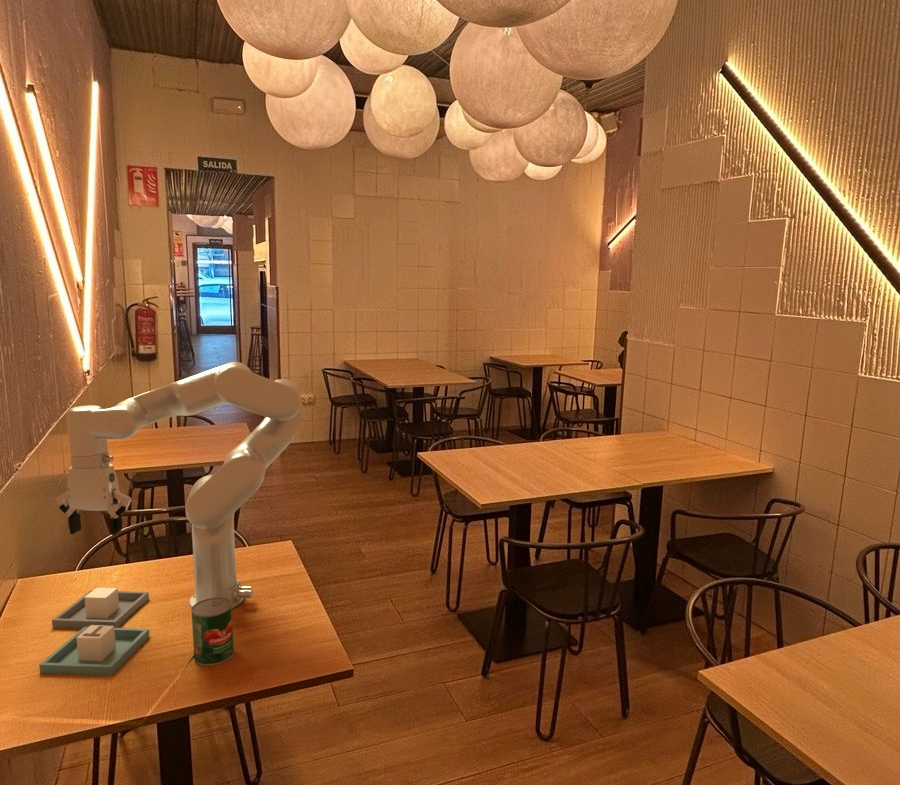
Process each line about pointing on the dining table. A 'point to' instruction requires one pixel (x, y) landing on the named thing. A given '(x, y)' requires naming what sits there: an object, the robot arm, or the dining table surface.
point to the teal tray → (68, 661)
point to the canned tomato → (212, 631)
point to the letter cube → (96, 643)
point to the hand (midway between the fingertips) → (96, 532)
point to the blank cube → (101, 602)
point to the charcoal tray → (78, 620)
